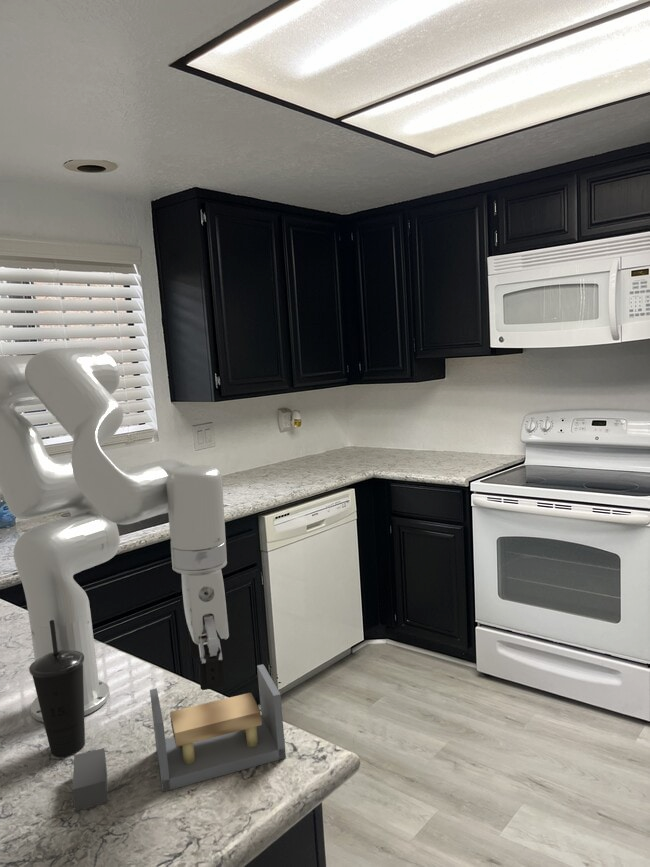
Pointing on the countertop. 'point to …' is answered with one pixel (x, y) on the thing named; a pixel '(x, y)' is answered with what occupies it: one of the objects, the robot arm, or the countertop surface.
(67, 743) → the drinking cup
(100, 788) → the block
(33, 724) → the countertop surface
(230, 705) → the shelf board
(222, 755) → the cabinet stand
